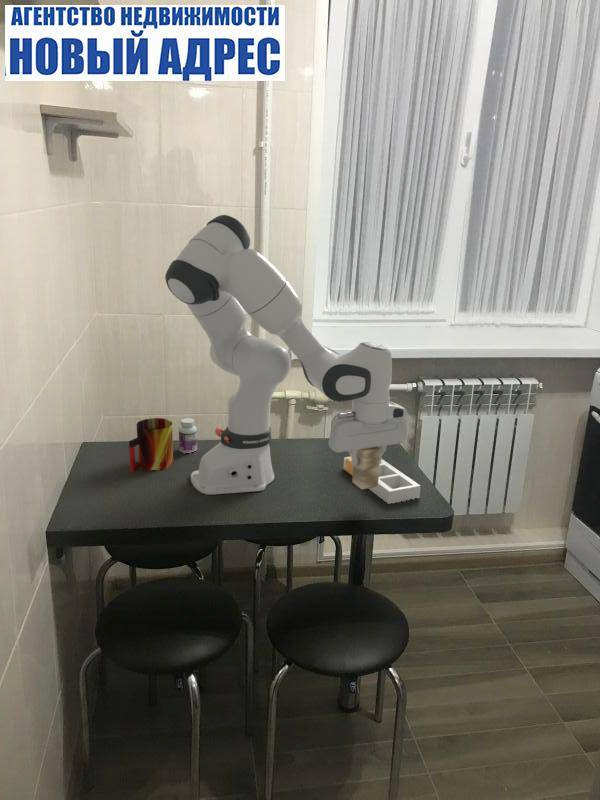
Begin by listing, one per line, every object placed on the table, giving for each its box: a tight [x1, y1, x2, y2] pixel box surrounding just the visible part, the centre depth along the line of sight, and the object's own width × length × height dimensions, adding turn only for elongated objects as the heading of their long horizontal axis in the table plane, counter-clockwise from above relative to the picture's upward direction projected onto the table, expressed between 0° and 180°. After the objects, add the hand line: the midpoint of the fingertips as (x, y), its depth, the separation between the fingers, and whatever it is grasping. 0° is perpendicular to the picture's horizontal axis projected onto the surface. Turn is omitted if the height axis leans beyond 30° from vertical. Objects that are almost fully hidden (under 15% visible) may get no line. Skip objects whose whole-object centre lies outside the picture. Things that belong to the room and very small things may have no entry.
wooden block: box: [351, 447, 381, 490], centre depth 157 cm, size 5×5×10 cm
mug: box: [128, 417, 174, 473], centre depth 177 cm, size 10×14×12 cm
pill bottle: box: [178, 417, 198, 454], centre depth 189 cm, size 5×5×10 cm
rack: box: [343, 455, 421, 505], centre depth 173 cm, size 10×24×4 cm, turn 25°
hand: (366, 463), depth 157 cm, fingers closed on wooden block, 5 cm apart
